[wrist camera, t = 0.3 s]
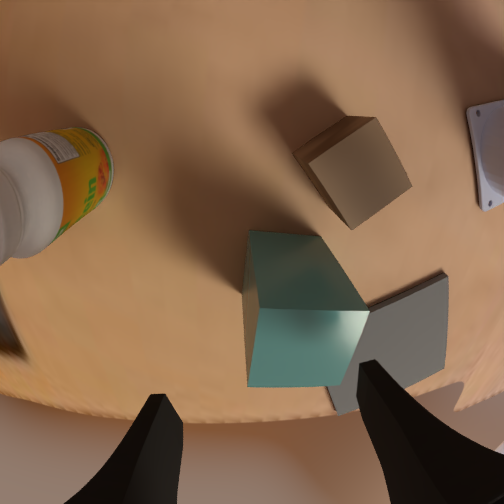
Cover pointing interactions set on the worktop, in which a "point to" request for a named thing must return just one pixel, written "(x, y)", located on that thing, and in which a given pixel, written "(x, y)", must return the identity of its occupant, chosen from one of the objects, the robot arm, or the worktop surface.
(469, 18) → the worktop surface
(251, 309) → the teal block
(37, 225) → the supplement bottle
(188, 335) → the worktop surface
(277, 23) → the worktop surface
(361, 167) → the walnut block
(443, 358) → the slate mat
